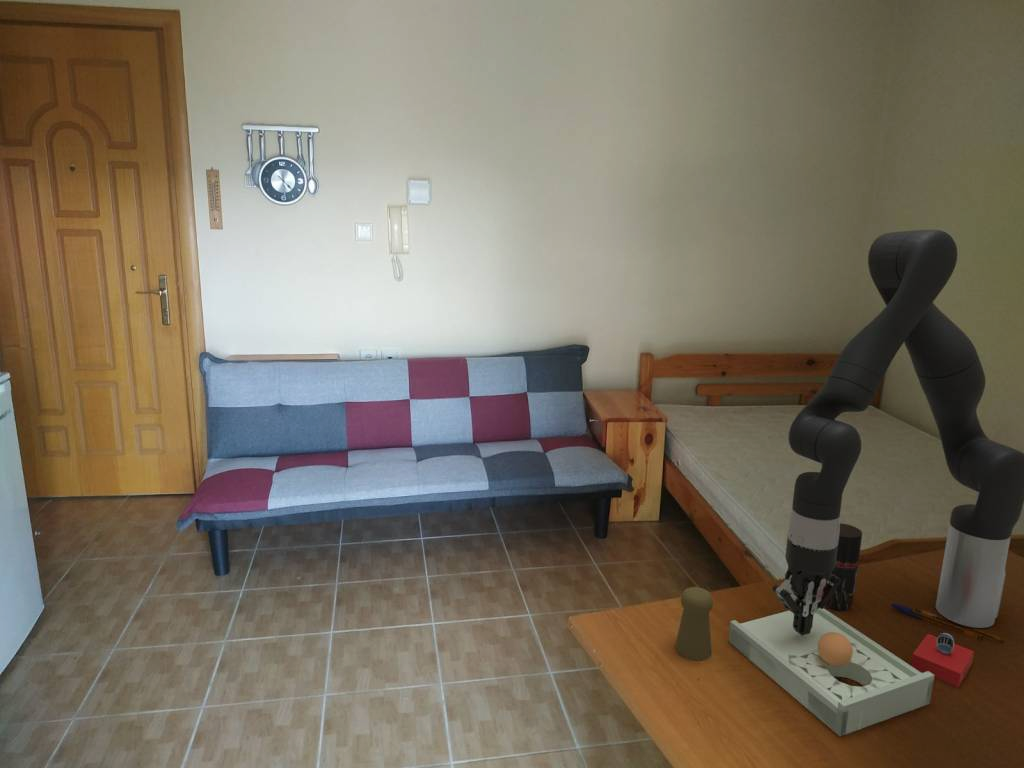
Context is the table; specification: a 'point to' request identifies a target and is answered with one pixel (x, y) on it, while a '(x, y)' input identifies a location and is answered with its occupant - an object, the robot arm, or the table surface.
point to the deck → (832, 671)
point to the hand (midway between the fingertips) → (801, 632)
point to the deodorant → (846, 567)
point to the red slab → (943, 658)
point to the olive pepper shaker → (695, 625)
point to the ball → (835, 649)
